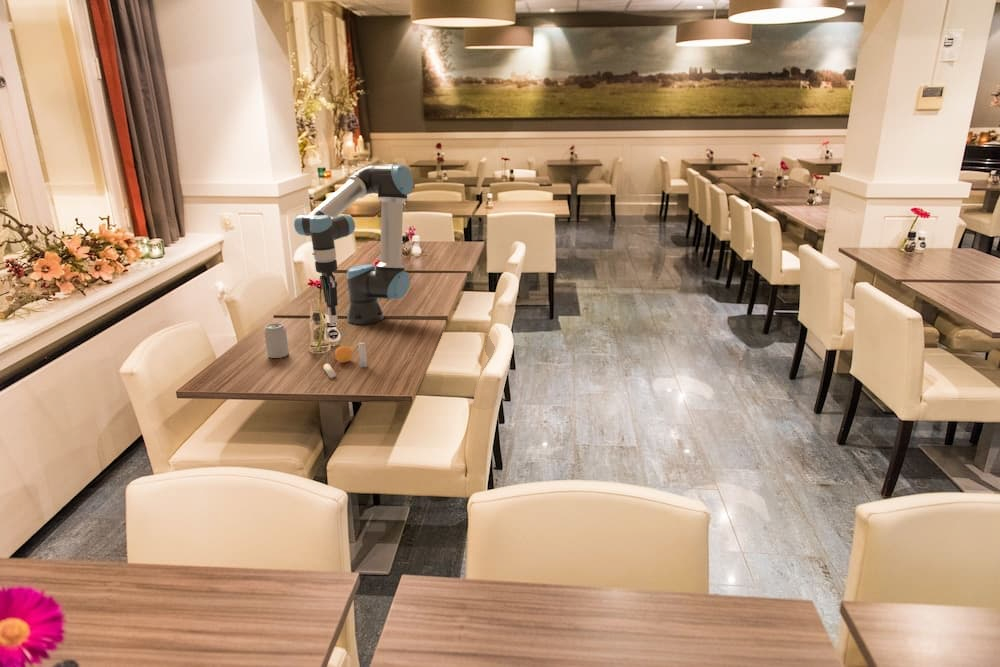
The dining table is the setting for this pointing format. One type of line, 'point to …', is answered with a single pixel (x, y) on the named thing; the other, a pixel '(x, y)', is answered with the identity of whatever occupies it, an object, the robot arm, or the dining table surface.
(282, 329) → the can
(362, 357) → the pin
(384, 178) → the robot arm
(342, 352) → the ball
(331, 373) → the pin
